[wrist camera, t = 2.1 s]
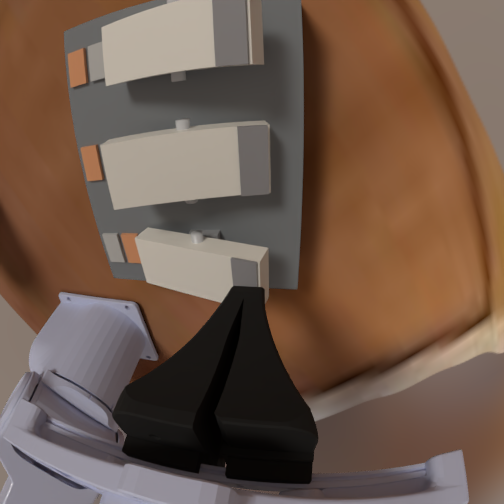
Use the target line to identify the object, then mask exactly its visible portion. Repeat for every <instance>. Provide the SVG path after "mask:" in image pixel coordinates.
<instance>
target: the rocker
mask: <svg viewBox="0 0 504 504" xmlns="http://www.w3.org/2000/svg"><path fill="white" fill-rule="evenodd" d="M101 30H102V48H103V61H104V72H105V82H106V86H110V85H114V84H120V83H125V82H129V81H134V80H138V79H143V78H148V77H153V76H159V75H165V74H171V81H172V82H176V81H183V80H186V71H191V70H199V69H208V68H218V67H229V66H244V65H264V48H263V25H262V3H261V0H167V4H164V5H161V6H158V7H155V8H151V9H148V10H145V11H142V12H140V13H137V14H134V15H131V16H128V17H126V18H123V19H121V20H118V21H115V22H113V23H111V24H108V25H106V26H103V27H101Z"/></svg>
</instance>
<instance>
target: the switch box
mask: <svg viewBox="0 0 504 504" xmlns="http://www.w3.org/2000/svg"><path fill="white" fill-rule="evenodd" d="M261 3H262V25H263V48H264V65H244V66H229V67H218V68H208V69H199V70H191V71H186V80H183V81H176V82H172V81H171V74H165V75H159V76H153V77H148V78H143V79H138V80H134V81H129V82H125V83H120V84H114V85H110V86H106V82H105V72H104V61H103V48H102V30H101V27H103V26H106V25H108V24H111V23H113V22H115V21H118V20H121V19H123V18H126V17H128V16H131V15H134V14H137V13H140V12H142V11H145V10H148V9H151V8H155V7H158V6H161V5H164V4H167V0H155V1H151V2H147V3H143V4H139V5H136V6H132V7H129V8H126V9H122V10H119V11H116V12H113V13H110V14H107V15H105V16H102V17H99V18H96V19H94V20H91V21H88V22H86V23H83V24H81V25H78V26H76V27H74V28H71V29H69V30H67V31H65V32H64V45H65V60H66V71H67V81H68V90H69V98H70V105H71V112H72V118H73V124H74V130H75V136H76V141H77V146H78V151H79V156H80V161H81V165H82V170H83V174H84V179H85V183H86V187H87V191H88V195H89V199H90V202H91V206H92V210H93V213H94V217H95V220H96V224H97V227H98V230H99V234H100V237H101V240H102V243H103V246H104V250H105V253H106V256H107V259H108V262H109V265H110V267H111V270H112V273H113V276H114V278H121V279H133V280H145V281H146V277H145V274H144V271H143V267H142V264H141V260H140V257H139V253H138V249H137V246H136V242H135V237H136V236H138V235H139V234H140V233H141V232H143V231H144V230H145V229H146V228H148V227H149V228H155V229H161V230H167V231H173V232H179V233H185V234H191V232H193V231H195V230H200V231H202V232H203V237H208V238H214V239H220V240H226V241H232V242H238V243H244V244H250V245H255V246H261V247H267V248H269V288H277V289H297V287H298V272H299V256H300V237H301V216H302V189H303V148H304V72H303V34H302V10H301V0H261ZM184 118H189V119H190V126H198V125H207V124H218V123H230V122H244V121H262V120H265V121H266V122H267V123H268V124H269V125H270V166H271V193H269V194H264V195H252V196H241V195H236V196H225V197H215V198H205V199H198V202H196V203H194V204H187V203H186V202H185V201H178V202H170V203H162V204H154V205H146V206H139V207H131V208H124V209H117V210H114V208H113V203H112V199H111V195H110V191H109V187H108V182H107V178H106V173H105V168H104V163H103V158H102V153H101V148H100V146H101V145H102V144H103V143H105V142H106V141H107V140H109V139H114V138H119V137H124V136H129V135H135V134H141V133H147V132H153V131H159V130H166V129H173V128H176V123H175V120H178V119H184Z"/></svg>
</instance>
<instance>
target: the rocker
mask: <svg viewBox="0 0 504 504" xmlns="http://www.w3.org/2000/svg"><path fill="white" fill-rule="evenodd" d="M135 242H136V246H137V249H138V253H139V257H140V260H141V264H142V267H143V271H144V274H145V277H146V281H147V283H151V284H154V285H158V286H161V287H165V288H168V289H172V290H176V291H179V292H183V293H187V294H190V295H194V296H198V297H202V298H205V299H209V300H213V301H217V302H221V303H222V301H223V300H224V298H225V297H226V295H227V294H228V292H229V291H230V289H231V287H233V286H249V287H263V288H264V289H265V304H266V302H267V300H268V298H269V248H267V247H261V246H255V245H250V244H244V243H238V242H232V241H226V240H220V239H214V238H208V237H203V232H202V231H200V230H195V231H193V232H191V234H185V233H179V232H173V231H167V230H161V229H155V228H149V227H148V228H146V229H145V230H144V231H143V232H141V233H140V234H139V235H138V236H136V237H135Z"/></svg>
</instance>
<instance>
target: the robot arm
mask: <svg viewBox="0 0 504 504" xmlns="http://www.w3.org/2000/svg"><path fill="white" fill-rule="evenodd" d="M59 298H60V300H61V303H60V304H59V306H58V307H57V308H56V310H55V311H54V312H53V314H52V315H51V317H50V318H49V319H48V321H47V322H46V324H45V325H44V326H43V328H42V329H41V331H40V332H39V334H38V335H37V337H36V338H35V340H34V341H33V343H32V346H31V349H30V355H29V366H30V370H31V372H26V373H25V374H24V375H23V377H22V378H21V380H20V381H19V382H18V384H17V386H16V387H15V389H14V391H13V392H12V394H11V396H10V398H9V399H8V401H7V403H6V405H5V407H4V409H3V411H2V413H1V415H0V461H1V463H2V464H3V466H4V468H5V470H6V472H7V473H8V475H9V476H8V478H7V480H6V482H5V484H4V487H3V489H2V491H1V493H0V504H92V503H94V501H95V499H96V498H98V496H99V494H102V497H101V500H100V504H467V503H468V502H469V495H468V487H467V479H466V471H465V465H464V459H463V453H462V450H461V449H459V450H455V451H451V452H447V453H443V454H439V455H436V456H433V457H432V458H430V459H428V460H427V461H426V463H421V464H415V465H410V466H403V467H397V468H389V469H381V470H372V471H362V472H348V473H323V474H322V473H318V474H312V462H313V459H314V449H315V447H316V445H317V443H318V432H317V428H316V424H315V421H314V418H313V416H312V413H311V410H310V408H309V406H308V405H307V404H306V402H305V401H304V399H303V398H302V396H301V395H300V393H299V392H298V390H297V389H296V387H295V385H294V384H293V382H292V380H291V378H290V376H289V374H288V373H287V371H286V369H285V367H284V365H283V363H282V360H281V358H280V356H279V354H278V351H277V349H276V346H275V343H274V341H273V338H272V334H271V331H270V328H269V324H268V320H267V316H266V311H265V289H264V288H263V287H249V286H233V287H231V289H230V291H229V292H228V294H227V295H226V297H225V298H224V300H223V301H222V303H221V304H220V306H219V307H218V308H217V310H216V311H215V312H214V314H213V315H212V316H211V317H210V319H209V320H208V321H207V322H206V323H205V325H204V326H203V327H202V328H201V329H200V330H199V331H198V333H197V334H196V335H195V336H194V337H193V338H192V339H191V340H190V341H189V342H188V343H187V344H186V345H185V346H184V347H182V348H181V349H180V350H179V351H178V352H177V353H175V354H174V355H173V356H172V357H171V358H169V359H168V360H167V361H166V362H164V363H163V364H161V365H160V366H158V367H157V368H156V369H154V370H153V371H151V372H150V373H148V374H147V375H145V376H143V377H141V378H140V379H138V380H136V381H134V382H132V383H130V384H129V382H130V380H131V377H132V375H133V373H134V370H135V368H136V366H137V364H138V361H139V359H140V358H142V359H147V360H153V361H156V360H158V354H157V352H156V349H155V347H154V344H153V342H152V340H151V337H150V335H149V332H148V330H147V327H146V324H145V322H144V319H143V317H142V314H141V311H140V309H139V306H138V304H137V303H135V302H132V301H123V300H115V299H107V298H100V297H93V296H85V295H78V294H72V293H65V292H60V294H59ZM128 384H129V385H128ZM119 427H120V428H121V429H122V430H123V431H124V432H125V433H126V434H127V437H126V439H125V442H124V436H123V434H122V432H121V431H120V430H119V429H118V428H119ZM225 462H226V464H227V466H226V468H225ZM231 487H234V488H231ZM235 488H243V489H253V490H264V491H280V493H279V495H277V494H268V493H261V492H254V491H247V490H241V489H235Z"/></svg>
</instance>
